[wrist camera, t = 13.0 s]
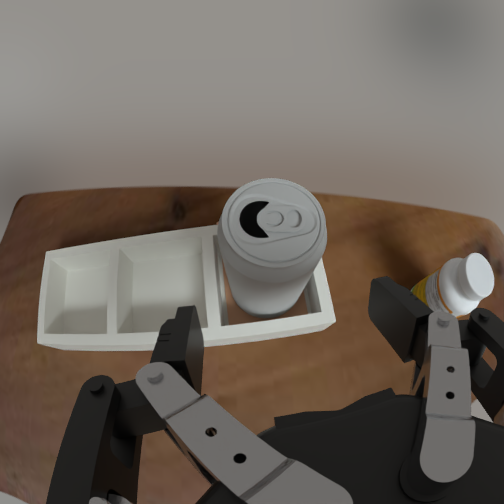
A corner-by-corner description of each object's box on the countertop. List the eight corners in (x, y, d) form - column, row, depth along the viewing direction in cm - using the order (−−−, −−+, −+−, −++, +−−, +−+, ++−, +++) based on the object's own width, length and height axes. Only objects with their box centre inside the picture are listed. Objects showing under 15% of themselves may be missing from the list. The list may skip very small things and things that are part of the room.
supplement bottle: (444, 290, 26) (497, 256, 17) (439, 334, 24) (498, 311, 15) (409, 276, 27) (459, 235, 18) (402, 322, 25) (458, 294, 16)
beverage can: (233, 253, 27) (220, 170, 16) (299, 256, 27) (326, 175, 16) (228, 318, 24) (207, 271, 13) (300, 321, 24) (337, 275, 13)
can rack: (62, 349, 23) (37, 343, 19) (67, 264, 28) (46, 248, 24) (322, 330, 25) (335, 321, 21) (302, 233, 29) (309, 210, 25)
